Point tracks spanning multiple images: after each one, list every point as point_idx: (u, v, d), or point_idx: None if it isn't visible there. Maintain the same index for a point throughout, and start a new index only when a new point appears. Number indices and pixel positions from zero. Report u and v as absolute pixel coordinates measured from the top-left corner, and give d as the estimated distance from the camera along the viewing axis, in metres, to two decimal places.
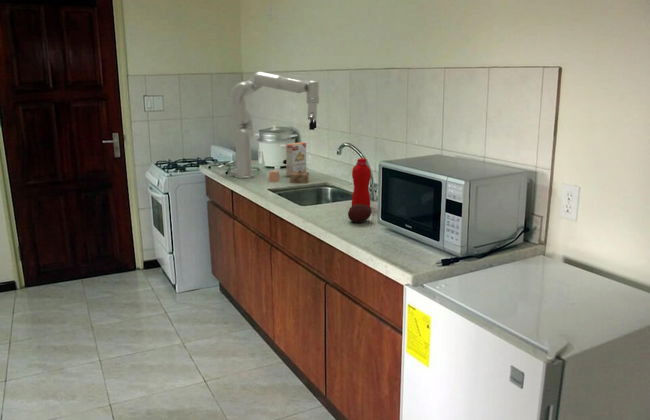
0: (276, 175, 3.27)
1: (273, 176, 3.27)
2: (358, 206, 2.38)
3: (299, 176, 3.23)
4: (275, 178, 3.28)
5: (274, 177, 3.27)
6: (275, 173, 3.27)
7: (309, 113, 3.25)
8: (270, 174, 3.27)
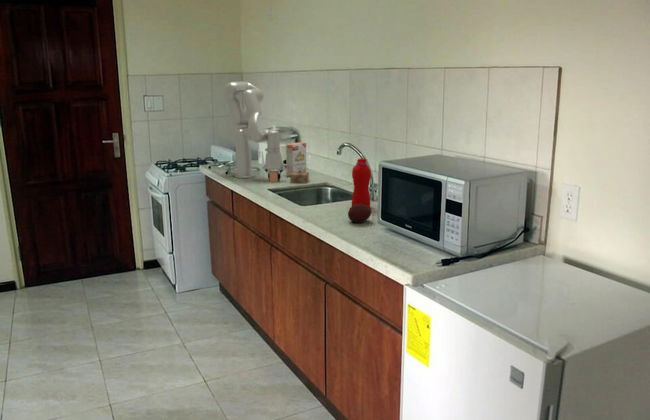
0: (276, 175, 3.27)
1: (273, 176, 3.27)
2: (358, 206, 2.38)
3: (299, 176, 3.23)
4: (275, 178, 3.27)
5: (274, 177, 3.27)
6: (275, 173, 3.27)
7: (281, 162, 3.26)
8: (270, 174, 3.27)
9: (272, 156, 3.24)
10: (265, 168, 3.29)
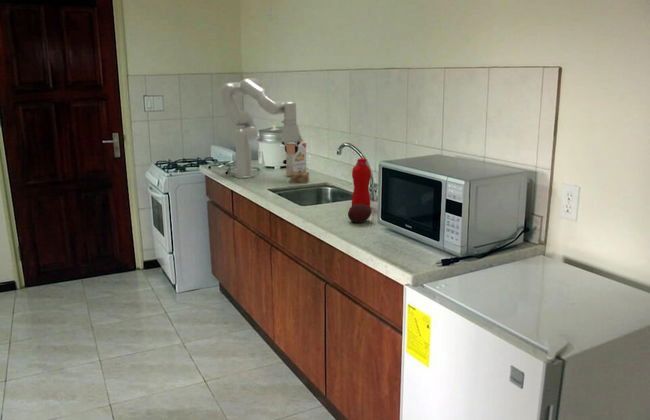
0: (293, 147, 3.21)
1: (290, 148, 3.21)
2: (358, 206, 2.38)
3: (299, 176, 3.23)
4: (292, 150, 3.21)
5: (291, 149, 3.21)
6: (292, 145, 3.21)
7: (298, 134, 3.20)
8: (287, 146, 3.21)
9: (289, 128, 3.18)
10: (282, 141, 3.23)
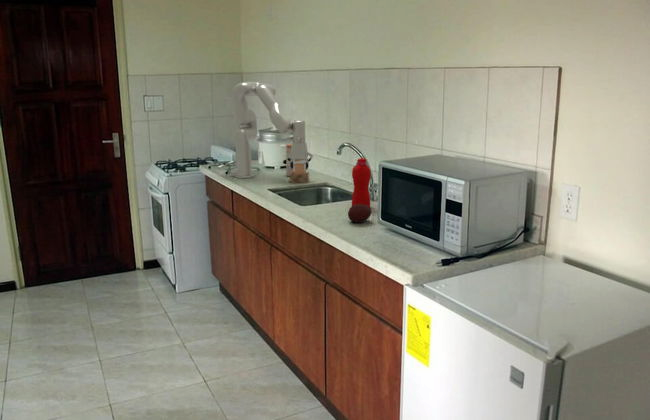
0: (301, 167, 3.24)
1: (298, 168, 3.24)
2: (358, 206, 2.38)
3: (299, 176, 3.23)
4: (300, 170, 3.24)
5: (299, 169, 3.24)
6: (300, 165, 3.23)
7: (307, 152, 3.22)
8: (295, 166, 3.24)
9: (298, 146, 3.20)
10: (288, 157, 3.25)
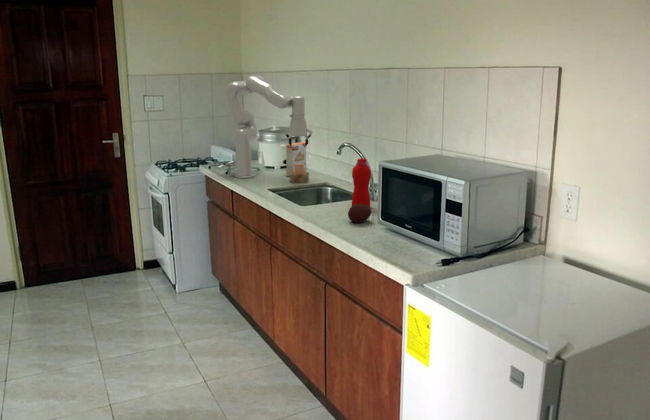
0: (301, 167, 3.24)
1: (298, 168, 3.24)
2: (358, 206, 2.38)
3: (299, 176, 3.23)
4: (300, 170, 3.24)
5: (299, 169, 3.24)
6: (300, 165, 3.23)
7: (306, 129, 3.19)
8: (295, 166, 3.24)
9: (297, 122, 3.17)
10: None
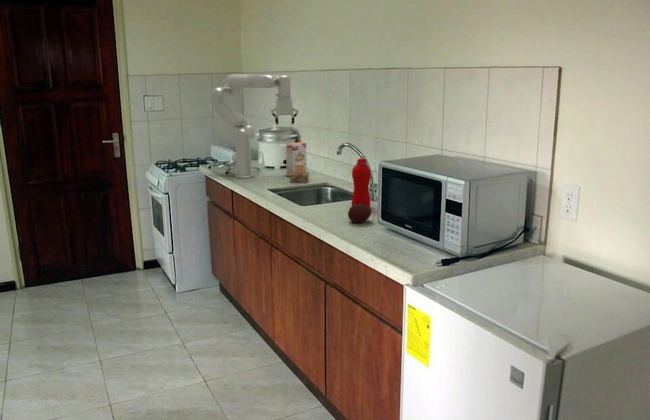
0: (301, 167, 3.24)
1: (298, 168, 3.24)
2: (358, 206, 2.38)
3: (299, 176, 3.23)
4: (300, 170, 3.24)
5: (299, 169, 3.24)
6: (300, 165, 3.23)
7: (292, 108, 3.24)
8: (295, 166, 3.24)
9: (283, 101, 3.23)
10: (273, 112, 3.27)
